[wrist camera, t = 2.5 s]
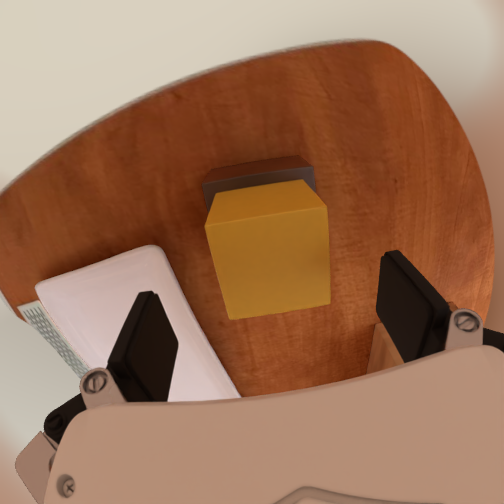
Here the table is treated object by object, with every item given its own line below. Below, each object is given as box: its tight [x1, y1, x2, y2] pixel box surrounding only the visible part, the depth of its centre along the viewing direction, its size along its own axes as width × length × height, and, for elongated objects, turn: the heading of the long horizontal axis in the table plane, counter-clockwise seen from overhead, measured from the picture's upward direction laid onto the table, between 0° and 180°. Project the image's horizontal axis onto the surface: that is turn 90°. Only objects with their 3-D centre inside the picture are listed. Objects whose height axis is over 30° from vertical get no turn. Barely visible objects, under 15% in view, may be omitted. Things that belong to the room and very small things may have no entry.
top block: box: [204, 179, 331, 320], centre depth 16 cm, size 6×6×6 cm
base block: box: [202, 155, 316, 214], centre depth 20 cm, size 7×7×5 cm
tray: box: [35, 245, 242, 402], centre depth 30 cm, size 17×32×4 cm, turn 16°
